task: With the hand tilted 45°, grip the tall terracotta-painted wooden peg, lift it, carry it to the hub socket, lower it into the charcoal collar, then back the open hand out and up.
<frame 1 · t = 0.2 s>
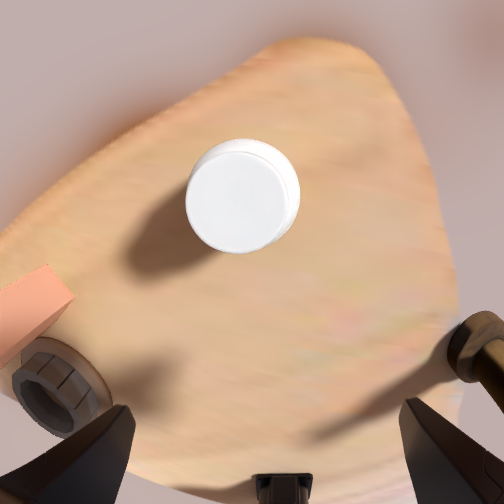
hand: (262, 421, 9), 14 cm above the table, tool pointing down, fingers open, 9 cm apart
supplement bottle: (252, 184, 21), on the table
hub socket: (65, 383, 28), on the table
dark wooden chess piece: (473, 340, 23), on the table
terracotta peg: (51, 292, 25), on the table
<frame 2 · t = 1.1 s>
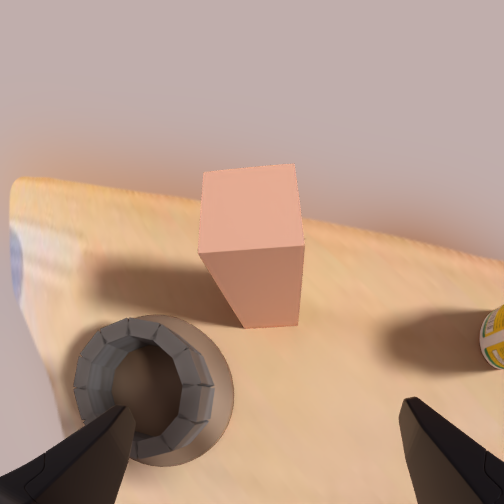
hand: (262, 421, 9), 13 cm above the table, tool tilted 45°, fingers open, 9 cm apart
supplement bottle: (498, 340, 20), on the table
hub socket: (157, 391, 22), on the table
terracotta peg: (270, 301, 24), on the table
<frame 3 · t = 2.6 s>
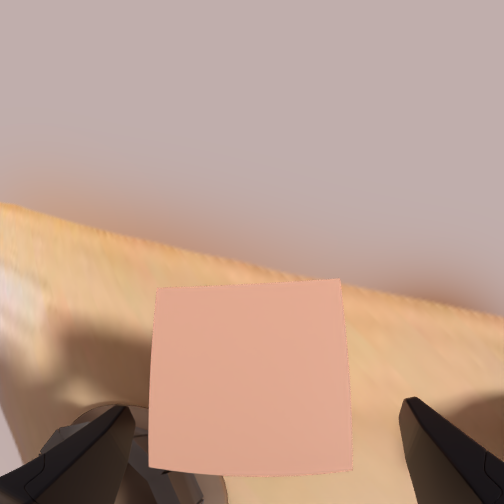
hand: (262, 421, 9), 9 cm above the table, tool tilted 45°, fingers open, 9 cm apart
hub socket: (136, 489, 15), on the table
terracotta peg: (275, 396, 17), on the table
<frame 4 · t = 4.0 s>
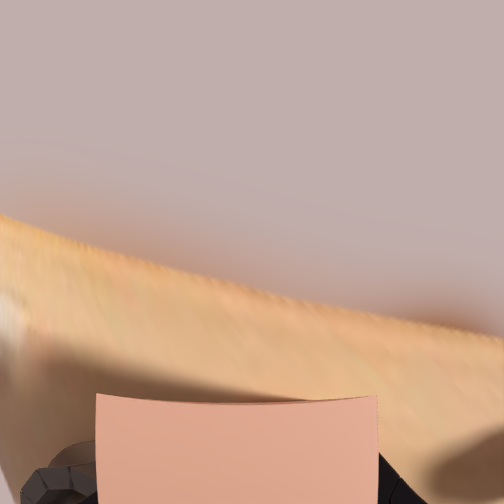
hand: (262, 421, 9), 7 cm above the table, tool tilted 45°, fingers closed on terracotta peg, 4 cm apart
terracotta peg: (274, 437, 14), on the table, touching gripper
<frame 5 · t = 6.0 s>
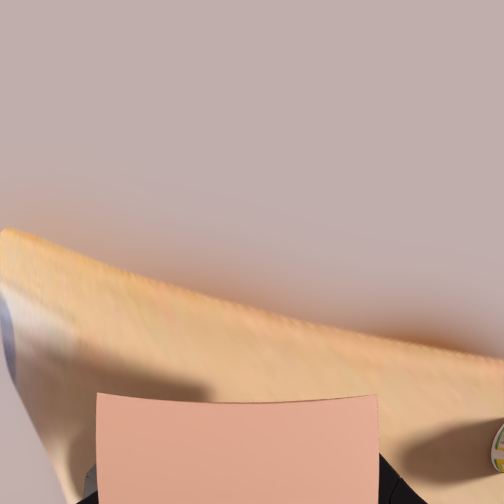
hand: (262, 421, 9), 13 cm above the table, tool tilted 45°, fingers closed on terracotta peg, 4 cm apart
hub socket: (166, 499, 18), on the table
terracotta peg: (274, 437, 14), point 6 cm above the table, touching gripper
when the fingers open (9 cm above the table, at t = 8.3 s): terracotta peg stays where it is, resting on hub socket.
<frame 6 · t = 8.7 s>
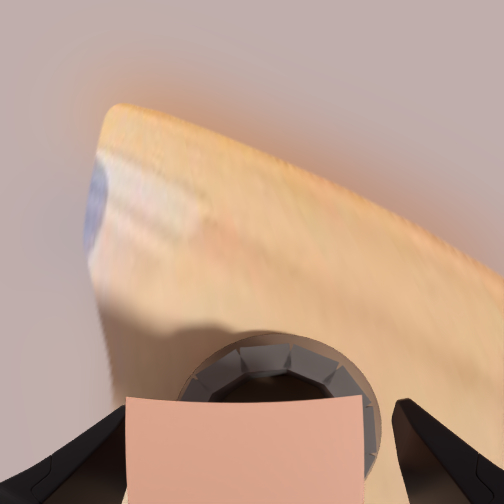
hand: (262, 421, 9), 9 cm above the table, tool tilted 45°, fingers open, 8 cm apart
hub socket: (276, 434, 16), on the table
terracotta peg: (274, 435, 15), point 1 cm above the table, touching hub socket
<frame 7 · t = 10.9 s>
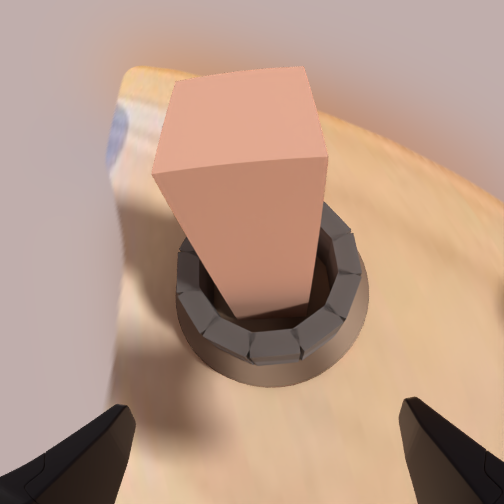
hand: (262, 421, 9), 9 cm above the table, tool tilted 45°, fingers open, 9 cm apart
hub socket: (271, 292, 20), on the table
terracotta peg: (270, 286, 19), point 1 cm above the table, touching hub socket
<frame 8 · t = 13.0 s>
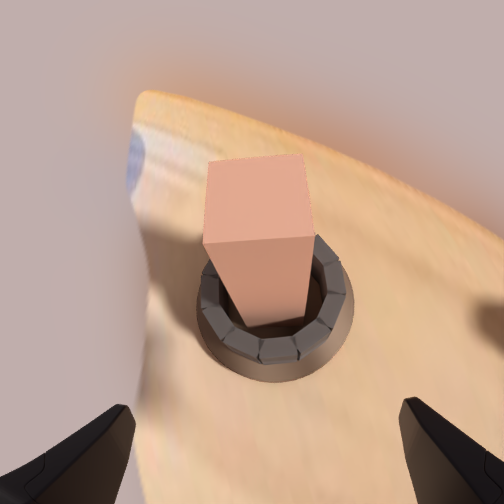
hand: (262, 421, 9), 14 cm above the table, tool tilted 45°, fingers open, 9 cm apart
hub socket: (275, 305, 25), on the table
terracotta peg: (274, 301, 24), point 1 cm above the table, touching hub socket
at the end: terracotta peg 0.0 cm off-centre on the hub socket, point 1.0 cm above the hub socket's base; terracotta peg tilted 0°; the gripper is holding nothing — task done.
